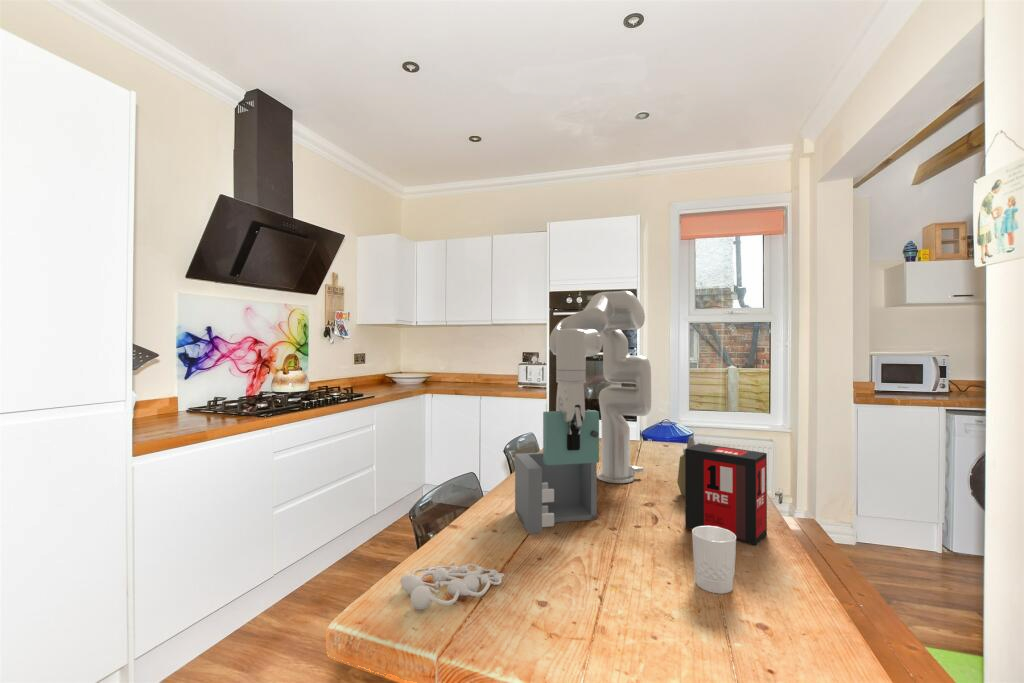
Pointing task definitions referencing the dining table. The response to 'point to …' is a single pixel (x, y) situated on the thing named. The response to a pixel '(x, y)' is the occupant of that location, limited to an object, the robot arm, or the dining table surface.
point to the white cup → (714, 558)
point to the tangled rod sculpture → (447, 583)
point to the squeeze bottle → (683, 468)
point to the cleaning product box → (727, 490)
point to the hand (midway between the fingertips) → (571, 447)
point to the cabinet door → (557, 439)
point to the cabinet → (553, 492)
